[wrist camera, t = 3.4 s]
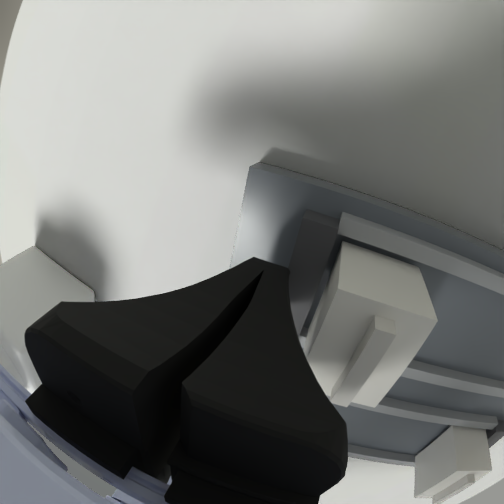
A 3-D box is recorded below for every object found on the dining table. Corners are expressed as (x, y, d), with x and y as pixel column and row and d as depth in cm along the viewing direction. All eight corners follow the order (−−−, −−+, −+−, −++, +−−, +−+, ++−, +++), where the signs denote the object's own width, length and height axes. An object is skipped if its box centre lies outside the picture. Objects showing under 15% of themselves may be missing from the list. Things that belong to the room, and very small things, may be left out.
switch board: (461, 454, 15) (462, 477, 13) (211, 395, 18) (198, 419, 17) (591, 300, 8) (608, 322, 6) (259, 162, 11) (239, 171, 9)
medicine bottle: (41, 308, 22) (-49, 384, 12) (34, 242, 18) (-86, 322, 8) (97, 353, 21) (5, 452, 11) (97, 290, 18) (-37, 407, 7)
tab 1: (375, 348, 11) (374, 421, 8) (308, 327, 12) (289, 398, 9) (418, 267, 10) (442, 334, 6) (342, 240, 10) (336, 301, 7)
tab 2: (447, 459, 13) (449, 505, 10) (415, 456, 14) (413, 505, 11) (485, 428, 11) (493, 478, 8) (452, 424, 12) (457, 480, 9)
